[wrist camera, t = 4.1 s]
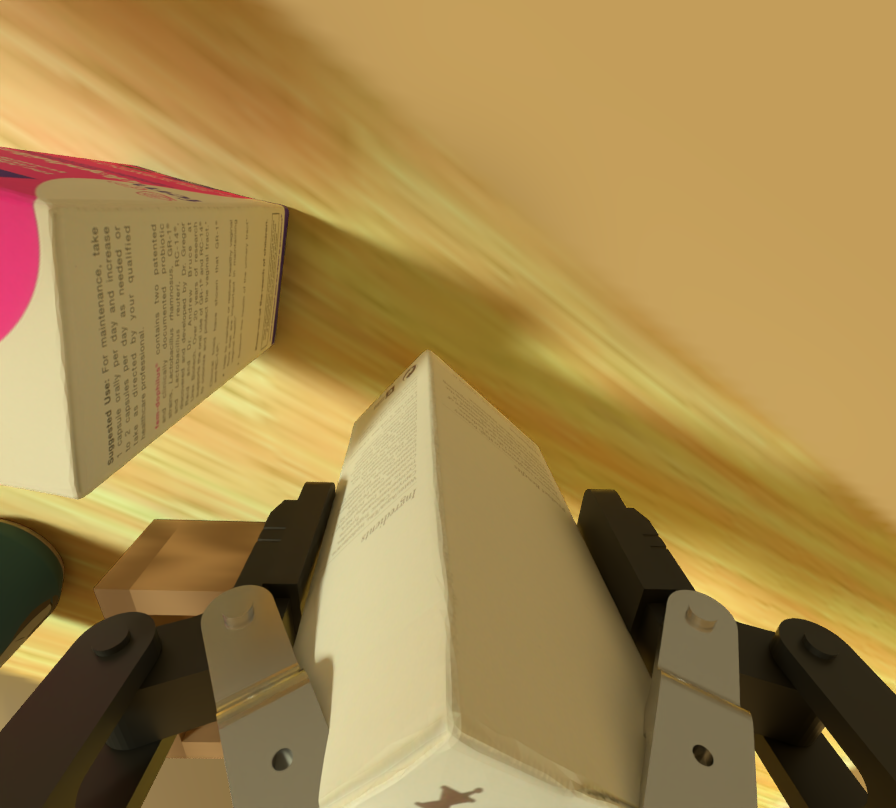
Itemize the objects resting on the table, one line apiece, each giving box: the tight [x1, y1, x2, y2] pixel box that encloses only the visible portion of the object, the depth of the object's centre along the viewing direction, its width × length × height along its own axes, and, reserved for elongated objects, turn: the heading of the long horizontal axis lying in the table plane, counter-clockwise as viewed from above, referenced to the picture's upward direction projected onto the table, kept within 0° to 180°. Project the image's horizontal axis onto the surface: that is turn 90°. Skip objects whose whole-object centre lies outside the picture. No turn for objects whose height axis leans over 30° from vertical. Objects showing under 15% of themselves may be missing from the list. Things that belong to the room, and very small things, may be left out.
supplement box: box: [0, 147, 289, 499], centre depth 13 cm, size 6×6×12 cm
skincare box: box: [293, 350, 652, 808], centre depth 11 cm, size 6×4×12 cm
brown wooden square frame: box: [93, 520, 266, 758], centre depth 24 cm, size 13×13×4 cm
